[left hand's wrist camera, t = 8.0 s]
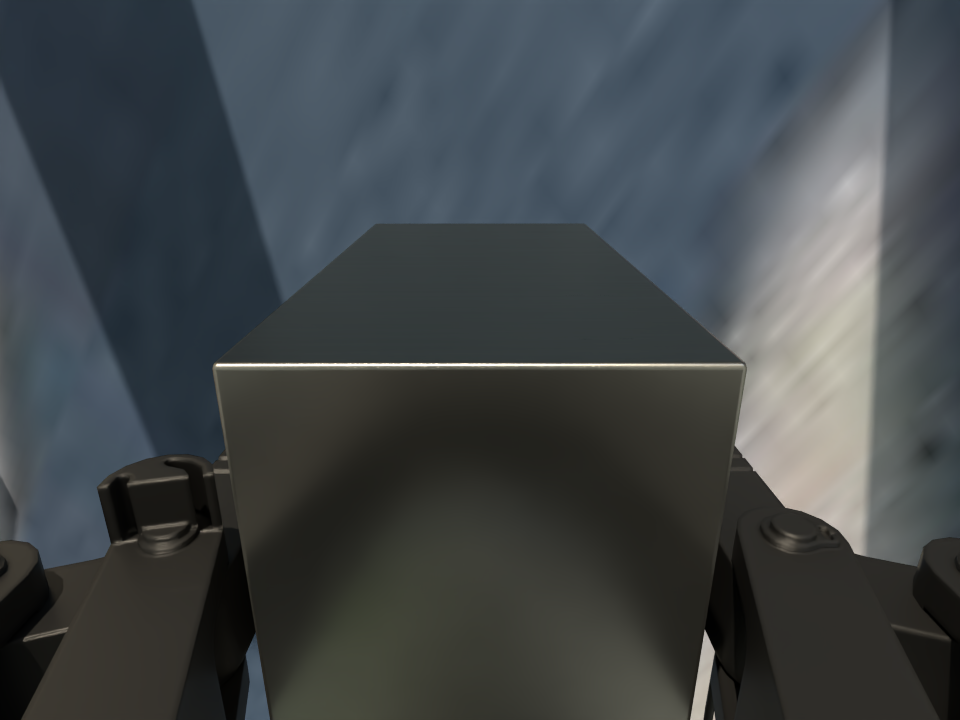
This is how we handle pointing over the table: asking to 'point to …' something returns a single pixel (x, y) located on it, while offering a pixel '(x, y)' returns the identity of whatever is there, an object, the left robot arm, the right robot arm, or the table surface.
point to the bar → (479, 480)
